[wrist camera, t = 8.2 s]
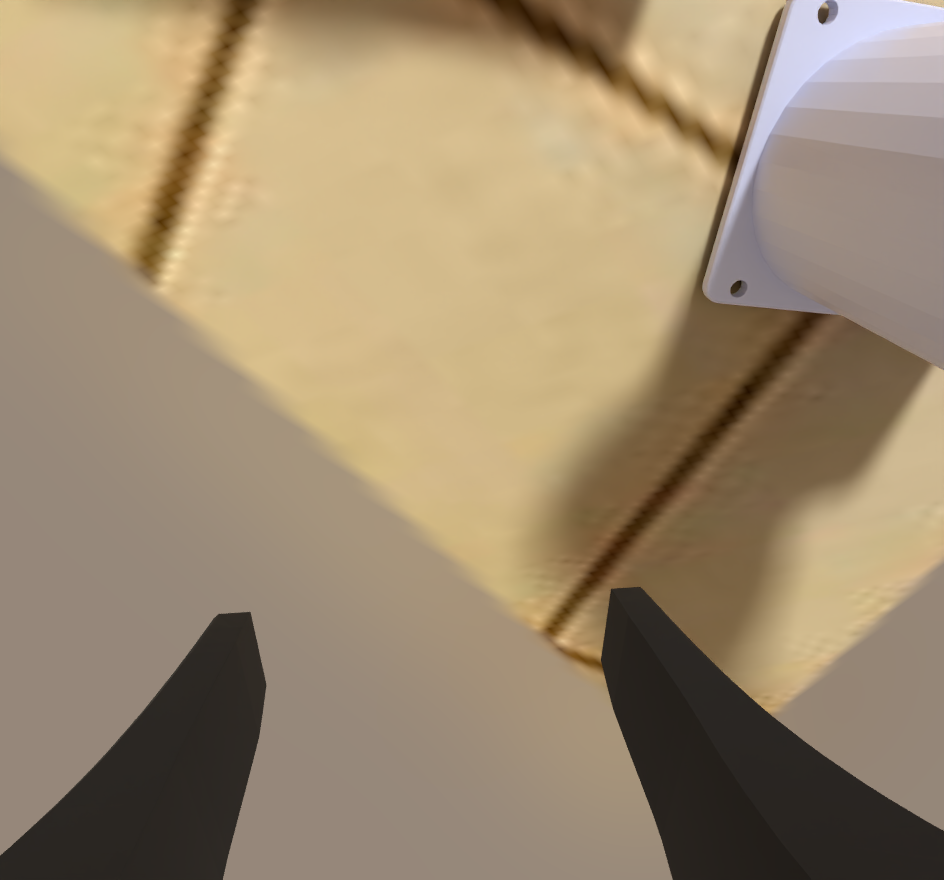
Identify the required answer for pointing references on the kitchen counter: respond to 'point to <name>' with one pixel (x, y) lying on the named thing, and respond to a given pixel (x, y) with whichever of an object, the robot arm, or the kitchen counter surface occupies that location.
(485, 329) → the kitchen counter surface
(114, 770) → the robot arm
